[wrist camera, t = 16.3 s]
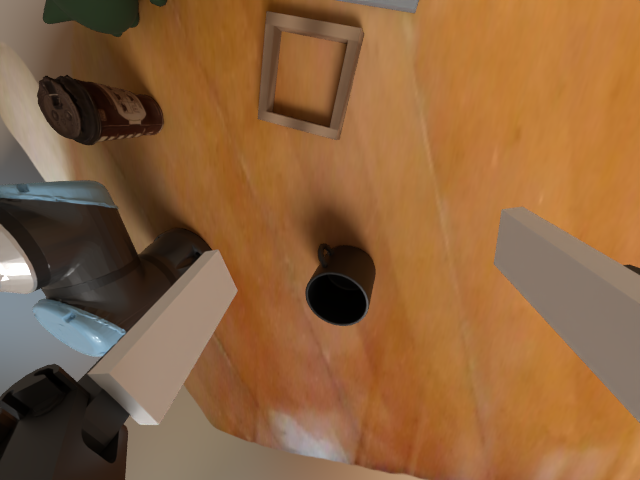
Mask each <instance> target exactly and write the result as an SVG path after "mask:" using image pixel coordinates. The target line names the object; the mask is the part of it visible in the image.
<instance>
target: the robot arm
mask: <svg viewBox="0 0 640 480" xmlns="http://www.w3.org/2000/svg"><path fill="white" fill-rule="evenodd" d="M494 265H495V266H496V267H497V268H498V269H499V270H500V271H501V272H502V273H503V275H504V276H505V277H506V278H507V279H508V280H509V281H510V282H511V283H512V284H513V285H514V286H515V288H516V289H517V290H518V291H519V292H520V293H521V294H522V295H523V296H524V297H525V298H526V300H527V301H528V302H529V303H530V304H531V305H532V306H533V307H534V308H535V309H536V310H537V312H538V313H539V314H540V315H541V316H542V317H543V318H544V319H545V320H546V321H547V322H548V324H549V325H550V326H551V327H552V328H553V329H554V330H555V331H556V332H557V333H558V334H559V336H560V337H561V338H562V339H563V340H564V341H565V342H566V343H567V344H568V345H569V346H570V348H571V349H572V350H573V351H574V352H575V353H576V354H577V355H578V356H579V357H580V358H581V360H582V361H583V362H584V363H585V364H586V365H587V366H588V367H589V368H590V369H591V370H592V372H593V373H594V374H595V375H596V376H597V377H598V378H599V379H600V380H601V381H602V382H603V383H604V385H605V386H606V387H607V388H608V389H609V390H610V391H611V392H612V393H613V394H614V395H615V397H616V398H617V399H618V400H619V401H620V402H621V403H622V404H623V405H624V406H625V407H626V409H627V410H628V411H629V412H630V413H631V414H632V415H633V416H634V417H635V418H636V419H637V421H638V422H639V423H640V268H638V267H635V266H632V265H621V264H620V263H618V262H616V261H615V260H613V259H611V258H609V257H608V256H606V255H604V254H603V253H601V252H599V251H597V250H596V249H594V248H592V247H591V246H589V245H587V244H585V243H584V242H582V241H580V240H579V239H577V238H575V237H574V236H572V235H570V234H568V233H567V232H565V231H563V230H562V229H560V228H558V227H556V226H555V225H553V224H551V223H550V222H548V221H546V220H544V219H543V218H541V217H539V216H538V215H536V214H534V213H532V212H531V211H529V210H527V209H526V208H524V207H516V208H509V209H502V211H501V218H500V225H499V232H498V239H497V246H496V252H495V259H494ZM40 288H41V289H42V291H43V292H44V294H45V296H46V299H42V300H39V301H38V303H37V304H35V305H34V307H33V312H34V313H35V315H34V316H35V317H36V319H37V320H38V321H39V323H40V324H41V325H42V326H43V327H44V328H45V329H46V330H47V331H49V332H50V333H51V334H52V335H53V336H55V337H56V338H57V339H58V340H60V341H61V342H63V343H64V344H66V345H67V346H69V347H71V348H73V349H74V350H76V351H79V352H81V353H83V354H86V355H90V356H102V357H101V358H100V359H99V361H98V362H97V363H96V364H95V365H94V366H93V367H92V368H91V369H90V370H89V371H88V372H87V373H86V374H85V375H84V376H83V377H82V378H81V379H80V380H79V381H78V382H76V381H75V380H74V379H73V378H72V377H71V376H70V375H69V374H67V373H66V372H65V371H64V370H63V369H62V368H61V367H60V366H58V365H56V364H52V365H47V366H44V367H42V368H39V369H37V370H35V371H33V372H32V373H30V374H28V375H26V376H25V377H23V378H22V379H21V380H19V381H18V382H17V383H15V384H14V385H12V386H11V387H10V388H9V389H8V390H7V391H6V392H5V393H3V394H2V396H1V397H0V407H1V408H0V480H125V472H126V456H127V441H128V430H127V427H126V426H125V425H124V422H125V421H126V419H127V418H128V417H129V415H130V416H131V417H132V418H133V419H134V420H135V421H137V422H138V423H139V424H140V425H159V424H160V423H161V421H162V419H163V418H164V416H165V414H166V413H167V411H168V409H169V407H170V406H171V404H172V402H173V401H174V399H175V397H176V395H177V393H178V392H179V390H180V389H181V387H182V385H183V384H184V382H185V380H186V378H187V377H188V375H189V373H190V372H191V370H192V368H193V366H194V365H195V363H196V361H197V360H198V358H199V356H200V354H201V353H202V351H203V349H204V348H205V346H206V344H207V343H208V341H209V339H210V337H211V336H212V334H213V332H214V331H215V329H216V327H217V325H218V324H219V322H220V320H221V319H222V317H223V315H224V314H225V312H226V310H227V308H228V307H229V305H230V303H231V302H232V300H233V298H234V296H235V295H236V293H237V288H236V286H235V284H234V282H233V280H232V278H231V276H230V273H229V271H228V269H227V267H226V265H225V263H224V261H223V258H222V256H221V254H220V252H219V250H213V251H211V249H210V248H209V246H208V245H207V244H206V243H205V242H204V241H203V240H202V239H201V238H200V237H198V236H197V235H196V234H194V233H192V232H190V231H188V230H185V229H180V228H175V229H171V230H169V231H166V232H164V233H162V234H160V235H159V236H158V237H157V238H156V239H155V240H154V242H153V243H152V244H150V245H149V246H148V247H147V248H146V249H145V250H144V251H142V252H141V253H140V254H137V252H136V250H135V247H134V245H133V243H132V241H131V239H130V236H129V234H128V232H127V230H126V228H125V225H124V223H123V221H122V219H121V217H120V214H119V212H118V207H117V206H116V205H115V204H114V202H113V200H112V198H111V196H110V194H109V192H108V190H107V189H106V188H105V186H103V185H102V184H100V183H98V182H96V181H90V180H80V181H57V182H41V183H28V184H8V185H0V292H12V293H21V294H28V293H31V292H34V291H36V290H38V289H40Z"/></svg>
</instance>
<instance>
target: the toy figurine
mask: <svg viewBox="0 0 640 480" xmlns="http://www.w3.org/2000/svg"><path fill="white" fill-rule="evenodd" d="M150 2H151V3H152V4H155V5H157V6H160V7H161V6H164V5H165V4H166V2H167V0H150ZM138 5H139V3H138V0H46V4H45V8H44V13H43V20H44V22H45V23H47V24H53V23H60V22H65V21H71V20H75V21H77V22H78V23H80V24H82V25H84V26H86V27H87V28H90V29H92V30H95V31H98V32H102V33H106V34H112V35H113V36H116V37H120V36H121V35H122V32H124V31H126V30H127V29H129V28H133V27H136V26H137V25H138V23H139V15H138Z"/></svg>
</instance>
